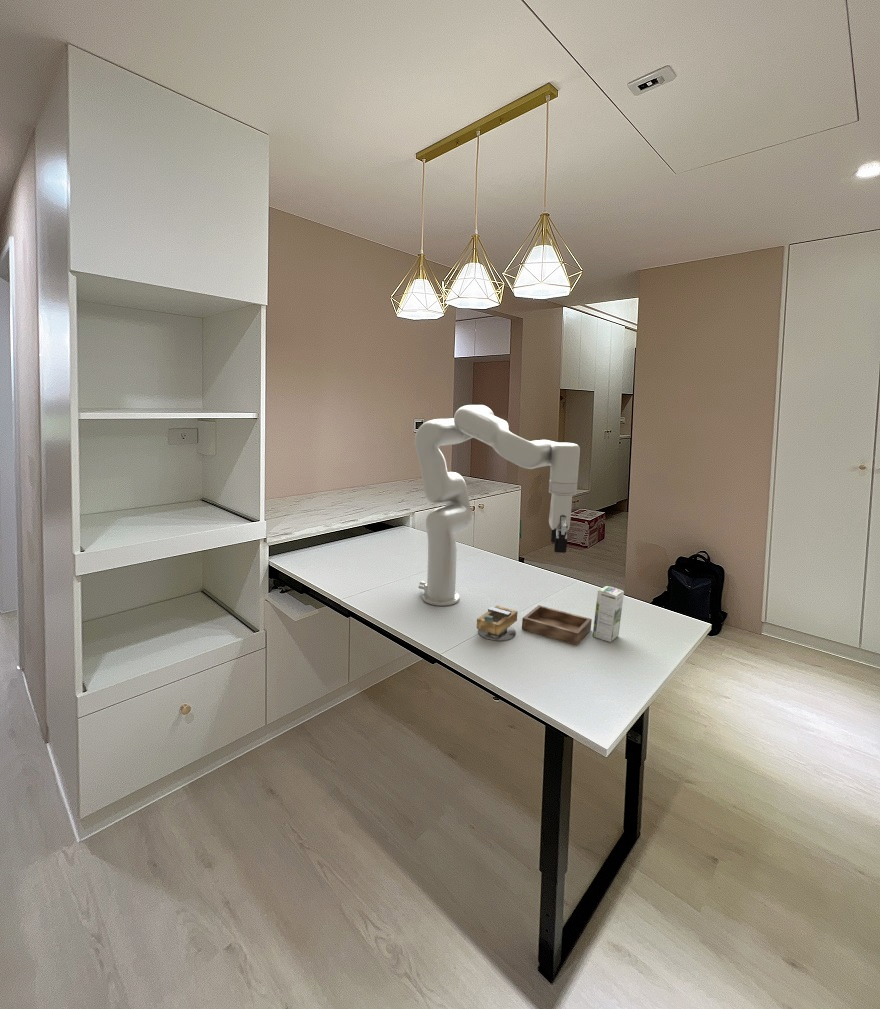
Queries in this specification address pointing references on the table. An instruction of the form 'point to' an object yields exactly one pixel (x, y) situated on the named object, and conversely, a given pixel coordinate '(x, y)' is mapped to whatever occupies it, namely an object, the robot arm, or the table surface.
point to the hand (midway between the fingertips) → (558, 547)
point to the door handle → (497, 616)
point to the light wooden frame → (496, 627)
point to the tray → (557, 624)
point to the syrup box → (608, 613)
